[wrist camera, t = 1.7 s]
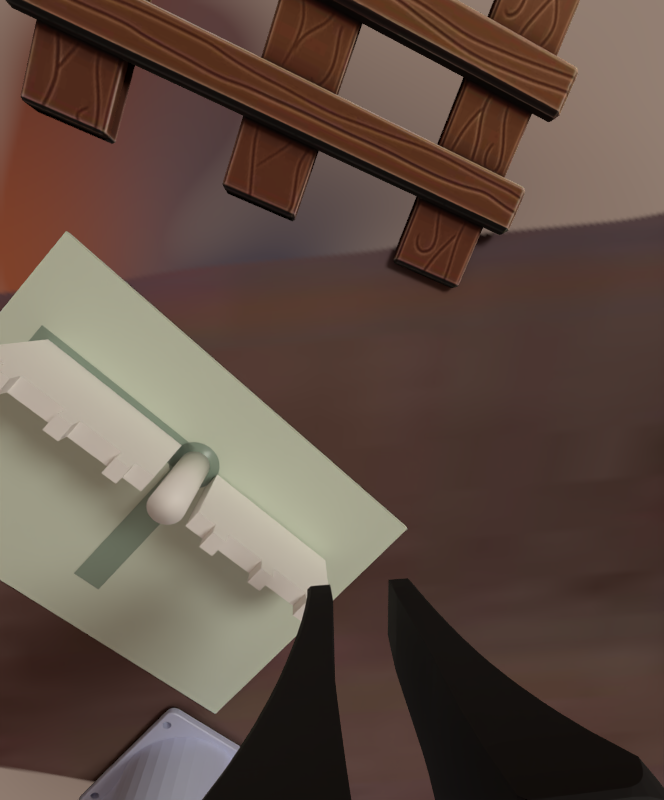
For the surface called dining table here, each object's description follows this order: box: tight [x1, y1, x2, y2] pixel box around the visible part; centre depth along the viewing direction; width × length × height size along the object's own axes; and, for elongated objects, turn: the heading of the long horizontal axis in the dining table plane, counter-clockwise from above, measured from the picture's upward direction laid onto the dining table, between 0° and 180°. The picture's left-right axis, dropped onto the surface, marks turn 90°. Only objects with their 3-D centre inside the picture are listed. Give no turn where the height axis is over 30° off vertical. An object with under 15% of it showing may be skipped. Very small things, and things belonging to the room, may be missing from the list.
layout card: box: [0, 231, 407, 714], centre depth 21 cm, size 17×23×1 cm
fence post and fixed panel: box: [0, 339, 210, 525], centre depth 18 cm, size 2×10×5 cm, turn 46°
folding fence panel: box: [186, 475, 328, 621], centre depth 19 cm, size 8×1×5 cm, turn 46°
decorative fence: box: [6, 0, 580, 288], centre depth 17 cm, size 23×2×15 cm
